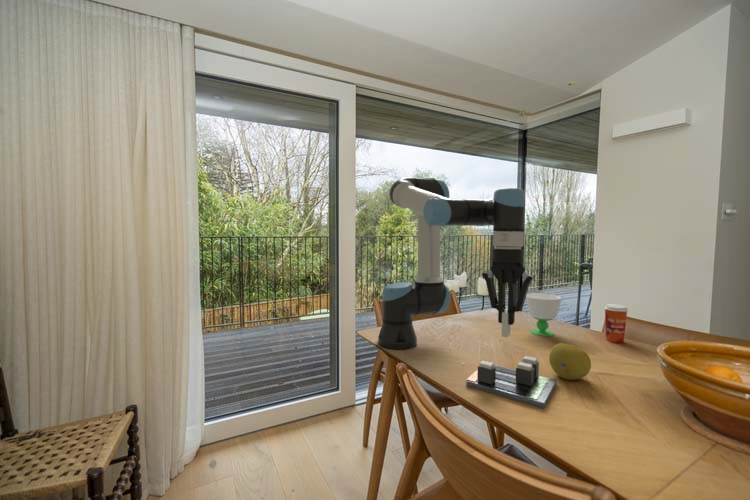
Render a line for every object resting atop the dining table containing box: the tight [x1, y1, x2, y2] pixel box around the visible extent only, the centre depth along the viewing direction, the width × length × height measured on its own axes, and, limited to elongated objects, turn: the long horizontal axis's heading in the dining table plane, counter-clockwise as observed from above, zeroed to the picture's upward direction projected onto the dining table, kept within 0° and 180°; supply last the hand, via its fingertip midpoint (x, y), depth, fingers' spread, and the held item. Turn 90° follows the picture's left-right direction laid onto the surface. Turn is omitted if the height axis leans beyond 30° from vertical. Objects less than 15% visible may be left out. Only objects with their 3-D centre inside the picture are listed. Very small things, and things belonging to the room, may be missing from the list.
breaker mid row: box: [515, 361, 534, 386], centre depth 92 cm, size 4×3×5 cm
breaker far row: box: [521, 355, 540, 379], centre depth 96 cm, size 4×3×5 cm
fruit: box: [548, 342, 592, 381], centre depth 99 cm, size 10×11×10 cm
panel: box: [465, 364, 557, 410], centre depth 94 cm, size 20×16×2 cm
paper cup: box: [604, 303, 629, 344], centre depth 131 cm, size 8×8×14 cm
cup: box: [525, 292, 562, 337], centre depth 142 cm, size 14×14×16 cm
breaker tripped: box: [477, 360, 496, 384], centre depth 93 cm, size 4×3×5 cm
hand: (505, 335), depth 89 cm, fingers closed
